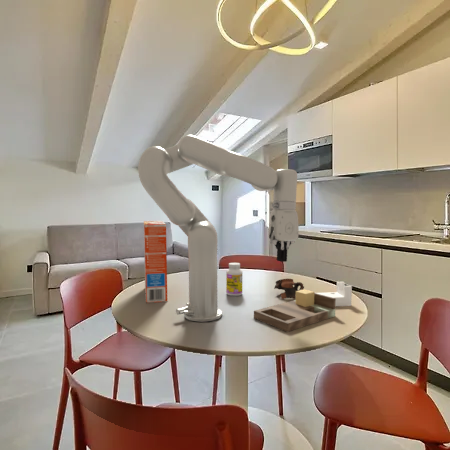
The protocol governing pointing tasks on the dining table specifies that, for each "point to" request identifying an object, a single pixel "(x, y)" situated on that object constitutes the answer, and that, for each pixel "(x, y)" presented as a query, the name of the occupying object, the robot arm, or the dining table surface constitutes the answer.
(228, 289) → the supplement bottle
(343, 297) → the bracket
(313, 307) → the box
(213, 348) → the dining table surface
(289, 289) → the pottery mug
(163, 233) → the orange cereal box
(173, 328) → the dining table surface
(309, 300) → the block
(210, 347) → the dining table surface
